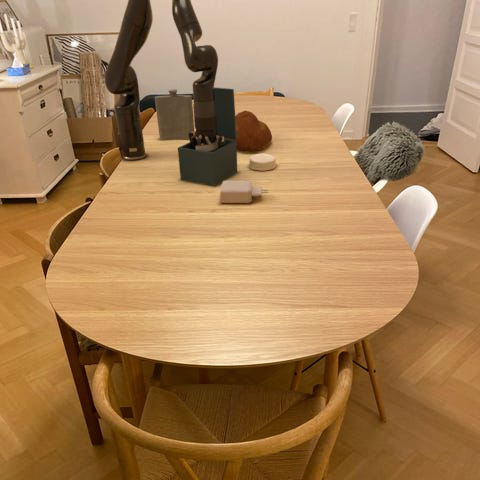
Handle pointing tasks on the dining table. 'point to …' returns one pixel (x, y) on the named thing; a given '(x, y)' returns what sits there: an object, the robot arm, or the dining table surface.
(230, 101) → the lid
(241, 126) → the bread
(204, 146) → the food container
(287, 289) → the dining table surface
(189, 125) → the hip flask
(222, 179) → the cool chest
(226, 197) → the charger
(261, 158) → the white round disc
